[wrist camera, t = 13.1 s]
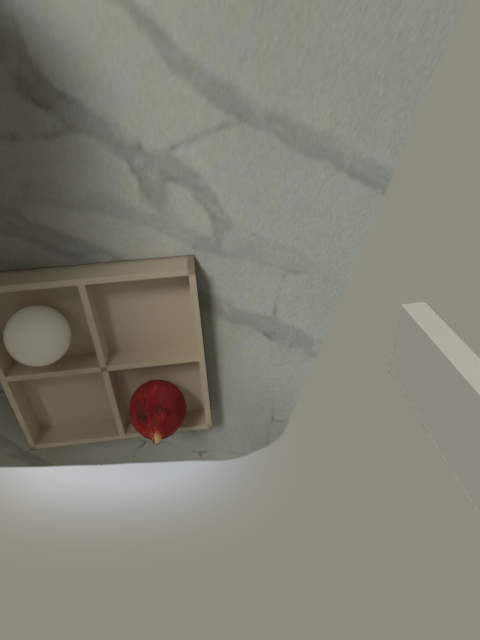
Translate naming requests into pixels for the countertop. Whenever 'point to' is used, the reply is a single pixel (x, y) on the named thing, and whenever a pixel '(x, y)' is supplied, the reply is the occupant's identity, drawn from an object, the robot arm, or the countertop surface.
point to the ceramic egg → (37, 335)
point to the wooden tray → (106, 347)
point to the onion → (157, 409)
